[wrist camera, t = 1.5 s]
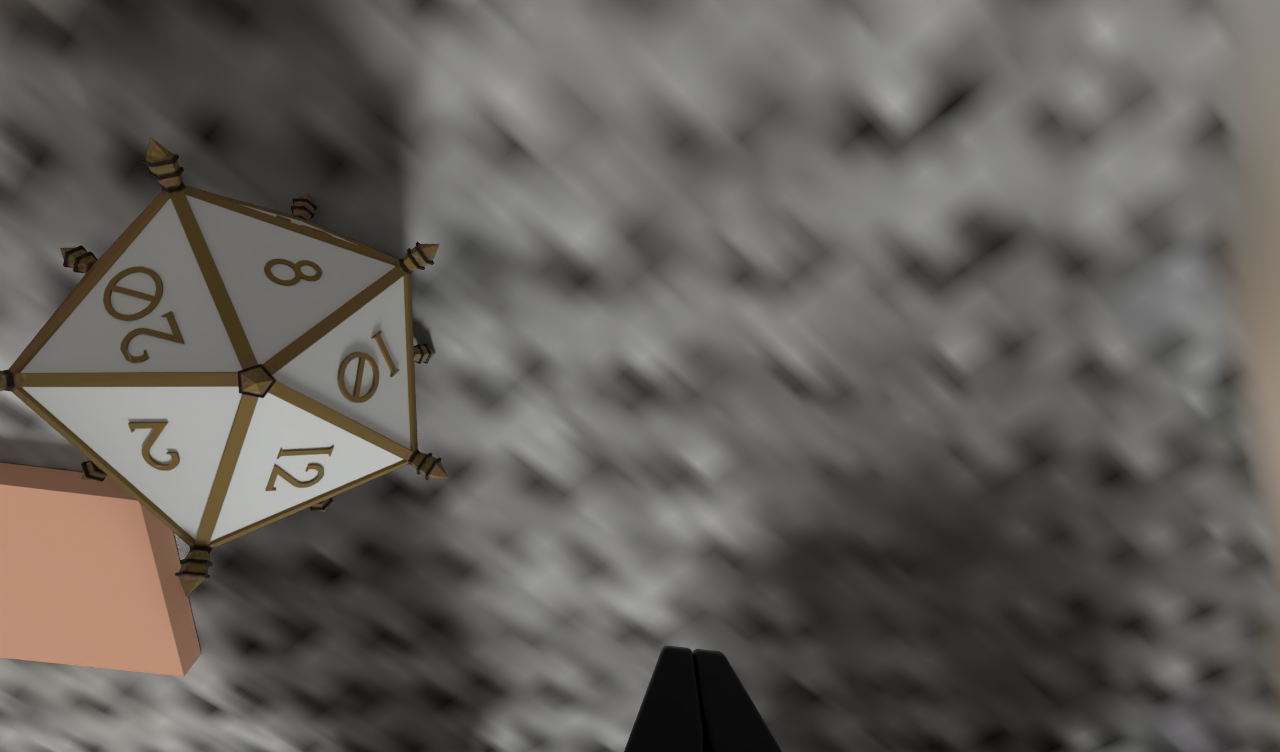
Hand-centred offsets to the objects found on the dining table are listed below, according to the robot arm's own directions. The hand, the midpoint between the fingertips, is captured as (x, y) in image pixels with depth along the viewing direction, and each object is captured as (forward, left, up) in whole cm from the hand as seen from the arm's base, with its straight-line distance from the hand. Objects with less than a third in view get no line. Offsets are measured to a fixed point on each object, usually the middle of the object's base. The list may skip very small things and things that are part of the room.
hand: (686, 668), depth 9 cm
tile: (-11, +19, -11) cm, 25 cm away
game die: (0, +9, -11) cm, 15 cm away
